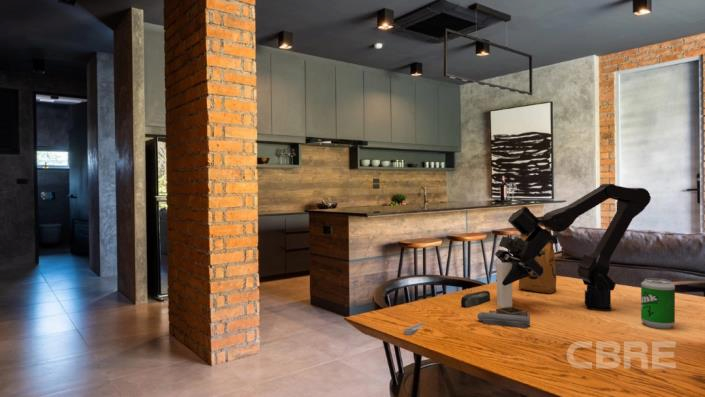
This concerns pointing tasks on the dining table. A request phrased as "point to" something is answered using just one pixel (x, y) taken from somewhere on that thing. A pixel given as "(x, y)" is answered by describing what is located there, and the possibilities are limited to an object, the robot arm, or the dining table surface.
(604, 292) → the robot arm
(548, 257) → the coffee package
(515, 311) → the clamp board
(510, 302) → the pin
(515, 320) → the grey domed rod
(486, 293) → the mobile phone
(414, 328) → the adjustable wrench
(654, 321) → the soda can
